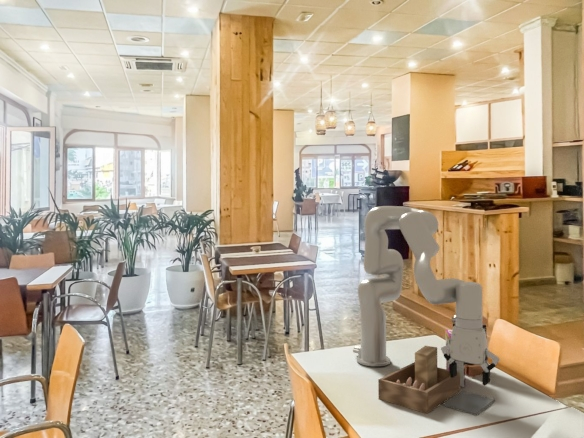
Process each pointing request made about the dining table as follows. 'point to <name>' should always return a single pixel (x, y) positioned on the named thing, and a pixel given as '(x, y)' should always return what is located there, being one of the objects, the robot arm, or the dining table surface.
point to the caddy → (417, 397)
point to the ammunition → (413, 384)
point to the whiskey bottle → (473, 369)
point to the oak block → (426, 366)
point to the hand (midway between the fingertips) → (469, 380)
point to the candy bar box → (459, 364)
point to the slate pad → (469, 402)
